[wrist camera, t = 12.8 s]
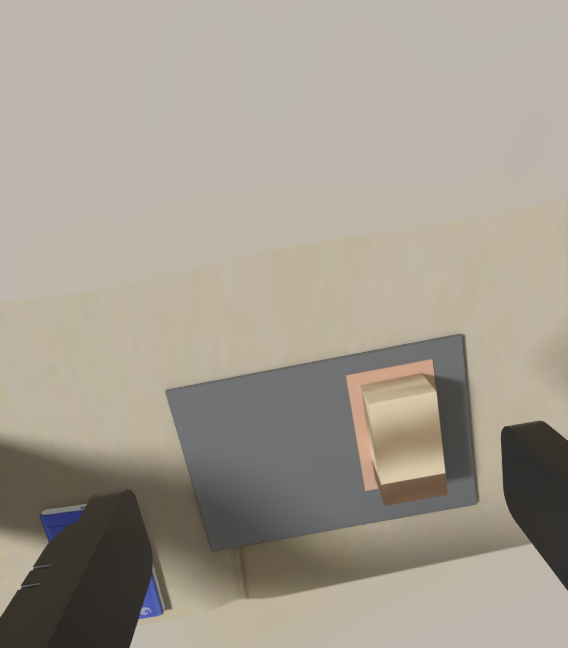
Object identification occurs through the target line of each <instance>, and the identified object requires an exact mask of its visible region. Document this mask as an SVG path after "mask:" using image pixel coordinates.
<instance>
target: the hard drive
mask: <svg viewBox="0 0 568 648" xmlns="http://www.w3.org/2000/svg"><path fill="white" fill-rule="evenodd" d="M86 505H87V504H82V505H75V506H68V507H60V508H53V509H46V510H43V512H42V513H41V514H40V518H41V521H42V524H43V527H44V530H45V532H46V535H47V538H48V541H49V542H50V541H52V540H53V539H54V538H55V537H56V536H57V535H58V534H59V533H60V532H61V531H62V530H63V529H64V528H65V527H67V526H68V525H69V524H73V523H76V522H77V520H78V518H79V517H80V515H81V513H82V512H83V510H84V508H85V507H86ZM164 609H165V604H164V601H163V597H162V594H161V590H160V586H159V583H158V579H157V576H156V572H155V569H154V565H153V568H152V576H151V580H150V584H149V587H148V590H147V593H146V596H145V600H144V603H143V606H142V609H141V612H140V616H139V619H141V618H149V617H156V616H159V615H162V614H163V612H164Z"/></svg>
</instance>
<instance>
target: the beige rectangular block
mask: <svg viewBox="0 0 568 648" xmlns="http://www.w3.org/2000/svg"><path fill="white" fill-rule="evenodd" d="M360 389H361V395H362V401H363V407H364V413H365V420H366V426H367V432H368V438H369V444H370V451H371V457H372V463H373V469H374V476H375V480H376V483H377V486H378V489H379V492H380V494H381V497H382V500H383V503H384V506H388V505H394V504H399V503H405V502H411V501H416V500H422V499H427V498H433V497H438V496H444V495H448V492H447V483H446V474H445V465H444V456H443V447H442V438H441V429H440V420H439V410H438V401H437V392H436V390H435V389H434V388H433V387H432V385H431V384H430V383H429V382H428V381H427V379H426V378H425V377H424V376H423V375H422V373H419V374H414V375H408V376H403V377H398V378H393V379H387V380H382V381H377V382H371V383H366V384H361V385H360Z"/></svg>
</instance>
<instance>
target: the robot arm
mask: <svg viewBox="0 0 568 648" xmlns="http://www.w3.org/2000/svg"><path fill="white" fill-rule="evenodd" d="M501 449H502V470H503V490H504V496H505V500H506V503H507V506H508V508H509V511H510V513H511V515H512V517H513V518H514V520H515V521H516V523H517V524H518V525H519V527H520V528H521V529H522V531H523V532H524V533H525V535H526V536H527V537H528V539H529V540H530V541H531V543H532V544H533V545H534V547H535V548H536V549H537V551H538V552H539V553H540V555H541V556H542V557H543V558H544V560H545V561H546V562H547V563H548V565H549V566H550V568H551V569H552V570H553V572H554V573H555V574H556V576H557V577H558V578H559V580H560V581H561V582H562V584H563V585H564V586H565V588H566V589H567V590H568V441H567V440H566V439H565V438H564V437H563V436H561V435H560V434H559V433H558V432H557V431H555V430H554V429H553V428H552V427H550V426H549V425H548V424H547V423H545V422H543V421H535V422H529V423H523V424H517V425H511V426H506V427H504V428H503V429H502V432H501ZM33 567H34V569H33V570H32V571H30V572H29V574H28V575H27V577H26V578H25V580H24V582H23V583H22V585H21V586H22V587H21V590H18V591H17V592H16V594H15V596H14V597H13V599H12V600H11V602H10V603H9V605H8V606H7V608H6V610H5V611H4V613H3V614H2V616H1V617H0V648H129V647H130V644H131V641H132V638H133V634H134V631H135V628H136V625H137V622H138V619H139V616H140V612H141V609H142V606H143V603H144V600H145V596H146V593H147V590H148V587H149V584H150V580H151V576H152V568H153V558H152V550H151V546H150V542H149V539H148V536H147V533H146V529H145V526H144V523H143V520H142V517H141V513H140V510H139V507H138V504H137V501H136V498H135V495H134V493H133V492H132V491H131V490H122V491H116V492H110V493H105V494H99V495H94V496H93V497H91V499H90V500H89V502H88V503H87V505H86V507H85V508H84V510H83V512H82V513H81V515H80V517H79V518H78V520H77V522H76V523H73V524H69V525H68V526H67V527H65V528H64V529H63V530H62V531H61V532H60V533H59V534H58V535H57V536H56V537H55V538H54V539H53V540H52V541H50V542H49V543H48V544H47V546H46V547H45V549H44V550H43V552H42V554H41V555H40V557H39V558H38V560H37V561H36V563H35V564H34V566H33Z"/></svg>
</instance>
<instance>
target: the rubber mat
mask: <svg viewBox="0 0 568 648" xmlns="http://www.w3.org/2000/svg"><path fill="white" fill-rule="evenodd" d="M419 373H422V375H423V376H424V377H425V378H426V379H427V381H428V382H429V383H430V384H431V385H432V387H433V388H434V389H435V390H436V392H437V401H438V410H439V420H440V429H441V438H442V447H443V456H444V465H445V474H446V483H447V492H448V495H444V496H438V497H433V498H427V499H422V500H416V501H411V502H405V503H399V504H394V505H388V506H384V503H383V500H382V497H381V494H380V492H379V489H378V486H377V483H376V480H375V476H374V469H373V463H372V457H371V451H370V444H369V438H368V432H367V426H366V420H365V413H364V407H363V401H362V395H361V389H360V385H361V384H366V383H371V382H377V381H382V380H387V379H393V378H398V377H403V376H408V375H414V374H419ZM166 396H167V399H168V403H169V406H170V409H171V413H172V416H173V420H174V423H175V426H176V430H177V433H178V437H179V440H180V443H181V447H182V450H183V454H184V457H185V460H186V464H187V467H188V471H189V474H190V477H191V481H192V484H193V488H194V491H195V494H196V498H197V501H198V505H199V508H200V511H201V515H202V518H203V522H204V525H205V528H206V532H207V535H208V539H209V542H210V545H211V549H212V551H218V550H224V549H229V548H235V547H240V546H246V545H252V544H257V543H263V542H268V541H274V540H280V539H285V538H291V537H296V536H302V535H308V534H313V533H319V532H324V531H330V530H336V529H341V528H347V527H352V526H358V525H364V524H369V523H375V522H381V521H386V520H392V519H397V518H403V517H409V516H414V515H420V514H425V513H431V512H437V511H442V510H448V509H453V508H459V507H465V506H470V505H476V504H477V502H476V490H475V479H474V468H473V457H472V445H471V434H470V423H469V412H468V401H467V389H466V378H465V367H464V356H463V345H462V335H460V334H457V335H451V336H446V337H441V338H436V339H430V340H425V341H420V342H415V343H409V344H404V345H399V346H394V347H389V348H383V349H378V350H373V351H368V352H362V353H357V354H352V355H347V356H341V357H336V358H331V359H326V360H320V361H315V362H310V363H305V364H300V365H294V366H289V367H284V368H279V369H273V370H268V371H263V372H258V373H252V374H247V375H242V376H237V377H231V378H226V379H221V380H216V381H211V382H205V383H200V384H195V385H190V386H184V387H179V388H174V389H169V390H166Z"/></svg>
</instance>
